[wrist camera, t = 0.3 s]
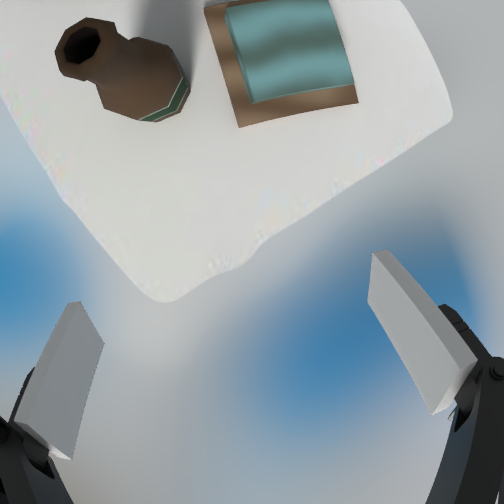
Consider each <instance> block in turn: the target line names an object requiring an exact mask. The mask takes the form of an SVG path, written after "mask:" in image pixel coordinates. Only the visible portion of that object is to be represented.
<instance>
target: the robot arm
mask: <svg viewBox="0 0 504 504" xmlns="http://www.w3.org/2000/svg"><path fill="white" fill-rule="evenodd" d="M368 304H369V305H370V307H371V308H372V310H373V312H374V313H375V315H376V317H377V318H378V320H379V322H380V323H381V325H382V326H383V328H384V330H385V332H386V333H387V335H388V337H389V338H390V340H391V342H392V344H393V345H394V347H395V349H396V351H397V352H398V354H399V356H400V358H401V359H402V361H403V363H404V364H405V366H406V368H407V370H408V372H409V374H410V376H411V377H412V379H413V381H414V383H415V385H416V387H417V389H418V390H419V392H420V394H421V396H422V398H423V400H424V402H425V404H426V406H427V408H428V410H429V412H430V413H431V415H433V414H435V413H437V412H440V411H441V410H444V409H446V408H448V407H449V405H450V404H451V402H452V401H453V399H455V401H456V403H457V406H456V407H455V409H454V410H453V411H452V413H451V414H450V415H449V418H448V420H450V419H451V418H452V417H453V421H452V425H451V429H450V433H449V437H448V440H447V444H446V448H445V451H444V454H443V458H442V461H441V463H440V467H439V469H438V472H437V475H436V478H435V481H434V483H433V486H432V489H431V491H430V494H429V496H428V499H427V501H426V503H425V504H495V502H496V499H497V495H498V491H499V497H498V504H504V359H503V358H501V357H492V356H491V355H490V354H489V353H488V351H487V350H486V348H485V347H484V346H483V345H482V343H481V342H480V341H479V339H478V338H477V337H476V335H475V334H474V333H473V332H472V330H471V329H469V327H468V325H467V324H466V323H465V322H463V319H462V318H461V317H460V316H459V314H458V313H457V312H456V311H455V310H453V309H452V308H451V307H449V306H447V305H446V304H443V305H441V306H437V305H436V304H435V303H434V302H433V301H432V299H431V298H430V297H429V296H428V295H427V293H425V291H424V290H423V289H422V287H421V286H420V285H419V284H418V283H417V282H416V281H415V279H414V278H413V277H412V276H411V275H410V274H409V272H408V271H407V270H406V269H405V268H404V267H403V266H402V265H401V264H400V262H399V261H398V260H397V259H396V258H395V257H394V256H393V255H392V254H391V253H390V252H389V250H383V251H378V252H373V253H372V265H371V276H370V285H369V294H368ZM103 346H104V342H103V340H102V339H101V337H100V335H99V333H98V332H97V330H96V328H95V327H94V325H93V323H92V321H91V320H90V318H89V316H88V314H87V313H86V311H85V309H84V307H83V305H82V303H81V302H80V301H79V302H71V303H68V304H67V306H66V308H65V309H64V311H63V313H62V315H61V317H60V319H59V321H58V322H57V324H56V326H55V328H54V330H53V332H52V334H51V336H50V338H49V340H48V342H47V344H46V346H45V348H44V350H43V352H42V354H41V356H40V358H39V361H38V362H37V365H36V367H34V368H33V369H32V370H31V371H30V373H29V374H28V375H27V377H26V379H25V381H24V384H23V387H22V389H21V391H20V395H19V396H18V398H17V401H16V403H15V406H14V408H13V411H12V414H11V416H10V419H9V422H8V423H7V422H6V421H5V420H4V419H3V418H2V417H1V416H0V504H74V503H73V501H72V500H71V498H70V496H69V494H68V492H67V490H66V488H65V486H64V484H63V482H62V480H61V478H60V476H59V473H58V471H57V469H56V467H55V465H54V462H53V460H52V459H51V458H50V457H49V456H48V453H49V451H51V452H52V453H53V454H55V455H56V456H58V457H61V458H65V459H70V460H72V459H73V454H74V449H75V444H76V440H77V436H78V432H79V427H80V424H81V420H82V416H83V412H84V408H85V405H86V401H87V397H88V394H89V391H90V387H91V384H92V380H93V377H94V374H95V371H96V368H97V364H98V361H99V358H100V355H101V352H102V349H103Z"/></svg>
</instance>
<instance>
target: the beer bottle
mask: <svg viewBox="0 0 504 504" xmlns="http://www.w3.org/2000/svg"><path fill="white" fill-rule="evenodd" d="M54 52H55V56H56V60H57V63H58V67H59V70H60V72H61V73H62V74H63V76H66V77H70V78H74V79H78V80H81V81H86V80H88V81H90V82H92V83H94V84H96V87H97V90H98V93H99V96H100V99H101V101H102V104H103V107H104V109H107V110H109V111H112V112H115V113H118V114H121V115H124V116H127V117H130V118H132V119H135V120H139V121H150V122H159V121H161V120H164V119H166V118H168V117H171V116H173V115H175V114H178V113H180V112H181V110H182V108H183V106H184V104H185V102H186V100H187V98H188V96H189V94H190V92H191V91H190V88H189V85H188V83H187V80H186V77H185V75H184V72H183V69H182V67H181V65H180V64H179V62H178V60H177V58H176V56H175V54H174V53H173V51H172V49H171V48H170V47H169V46H167V45H164V44H161V43H158V42H154V41H151V40H147V39H144V38H140V37H136V38H132V39H130V40H128V39H126V38H125V37H123V36H122V35H120V34H119V33H118V32H117V29H116V26H115V23H114V22H110V21H105V20H100V19H94V18H87V17H86V18H84V19H83V20H81V21H79V22H77V23H76V24H74V25H73V26H71V27H69V28H68V29H66V30H65V31H64V33H63V35H62V37H61V39H60V41H59V43H58V45H57V47H56V49H55V51H54Z"/></svg>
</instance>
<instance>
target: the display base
mask: <svg viewBox="0 0 504 504" xmlns="http://www.w3.org/2000/svg"><path fill="white" fill-rule="evenodd" d="M204 14H205V18H206V21H207V24H208V27H209V30H210V33H211V37H212V40H213V43H214V46H215V49H216V53H217V56H218V59H219V63H220V66H221V69H222V72H223V76H224V79H225V82H226V86H227V89H228V92H229V96H230V99H231V103H232V106H233V109H234V113H235V116H236V120H237V123H238V126H239V128H241V127H245V126H248V125H252V124H256V123H260V122H264V121H268V120H272V119H276V118H281V117H285V116H290V115H294V114H299V113H304V112H309V111H314V110H319V109H325V108H331V107H336V106H343V105H349V104H356V103H359V102H358V98H357V94H356V90H355V86H354V80H353V76H352V72H351V69H350V65H349V62H348V58H347V55H346V52H345V48H344V45H343V42H342V39H341V36H340V33H339V30H338V27H337V24H336V21H335V18H334V16H333V13H332V10H331V7H330V5H329V2H328V0H239V1H234V2H229V3H224V4H219V5H215V6H210V7H206V8H204Z"/></svg>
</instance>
